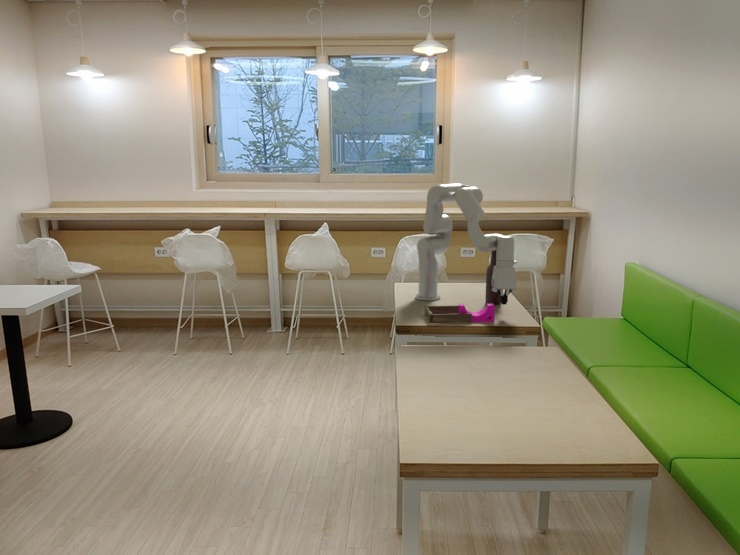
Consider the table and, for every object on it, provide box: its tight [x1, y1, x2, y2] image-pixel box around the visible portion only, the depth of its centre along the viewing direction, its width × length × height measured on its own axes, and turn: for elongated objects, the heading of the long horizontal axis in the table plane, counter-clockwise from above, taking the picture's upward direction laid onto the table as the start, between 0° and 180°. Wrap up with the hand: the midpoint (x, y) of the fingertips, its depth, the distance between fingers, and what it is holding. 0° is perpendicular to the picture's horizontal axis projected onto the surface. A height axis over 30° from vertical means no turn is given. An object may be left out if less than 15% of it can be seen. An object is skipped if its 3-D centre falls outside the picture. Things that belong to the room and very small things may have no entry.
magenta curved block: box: [458, 303, 496, 323], centre depth 259 cm, size 15×6×8 cm, turn 88°
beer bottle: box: [485, 250, 502, 306], centre depth 285 cm, size 8×8×30 cm
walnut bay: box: [424, 304, 473, 324], centre depth 262 cm, size 15×18×4 cm
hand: (503, 303), depth 263 cm, fingers closed
